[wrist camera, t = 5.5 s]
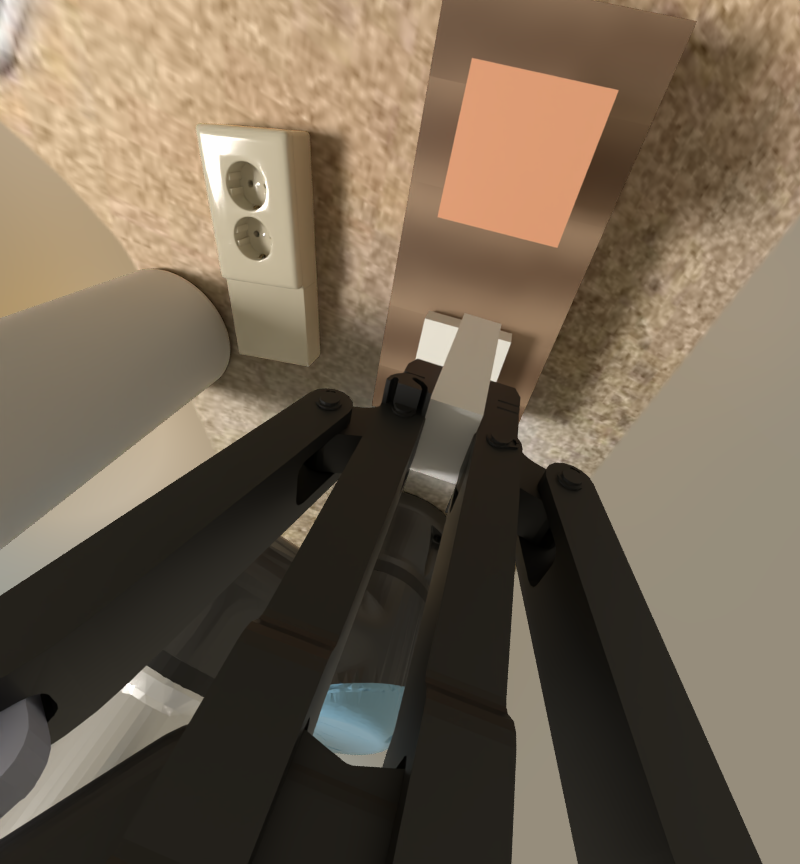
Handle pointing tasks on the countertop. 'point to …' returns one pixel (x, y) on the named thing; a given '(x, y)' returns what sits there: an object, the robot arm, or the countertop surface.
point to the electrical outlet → (265, 236)
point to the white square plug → (441, 336)
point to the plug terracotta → (522, 150)
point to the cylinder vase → (96, 382)
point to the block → (608, 171)
